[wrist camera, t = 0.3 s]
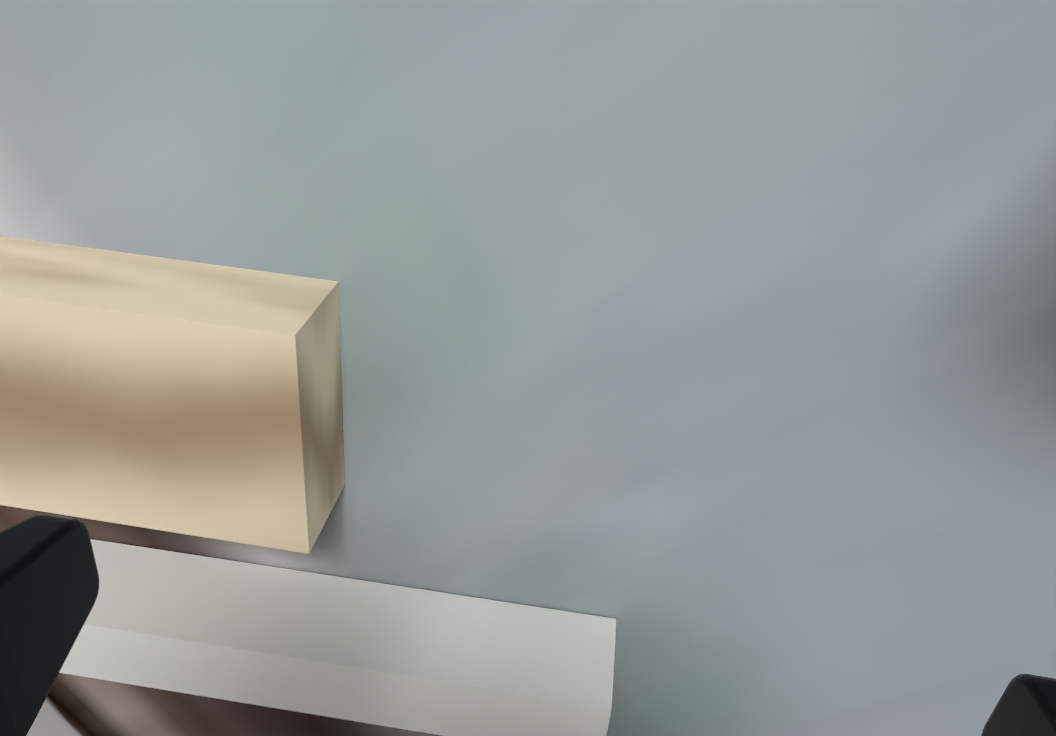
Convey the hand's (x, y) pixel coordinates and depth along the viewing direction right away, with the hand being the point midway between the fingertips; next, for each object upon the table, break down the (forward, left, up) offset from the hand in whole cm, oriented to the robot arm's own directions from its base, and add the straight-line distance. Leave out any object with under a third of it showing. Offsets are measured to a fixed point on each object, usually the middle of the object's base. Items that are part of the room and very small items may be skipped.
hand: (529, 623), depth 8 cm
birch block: (-7, +12, -15) cm, 20 cm away
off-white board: (-16, +7, -14) cm, 22 cm away
